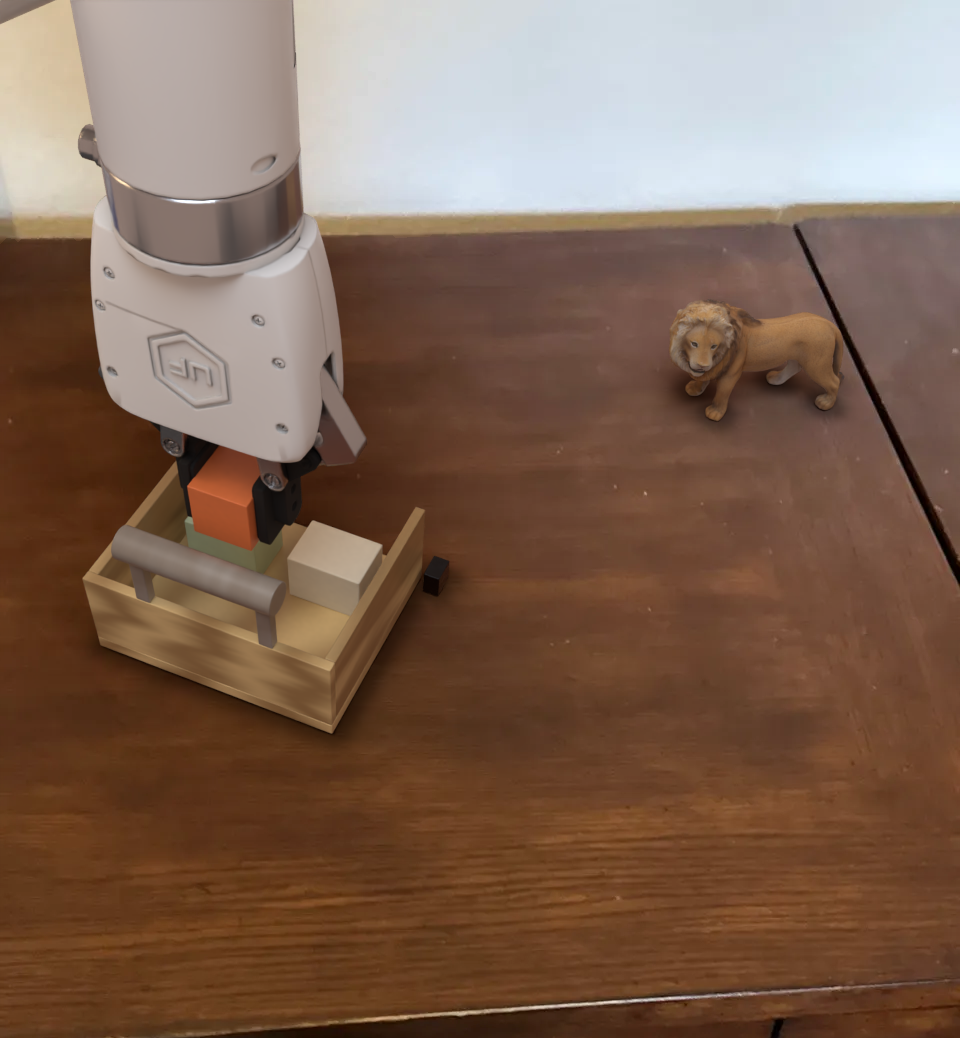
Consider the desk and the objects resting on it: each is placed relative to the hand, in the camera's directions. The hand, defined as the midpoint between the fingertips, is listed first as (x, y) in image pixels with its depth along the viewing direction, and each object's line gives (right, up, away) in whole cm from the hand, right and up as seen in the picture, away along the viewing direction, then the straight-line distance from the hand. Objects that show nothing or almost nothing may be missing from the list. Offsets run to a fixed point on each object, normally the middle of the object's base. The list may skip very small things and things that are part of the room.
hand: (243, 509), depth 63 cm
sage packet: (-2, -1, +10) cm, 11 cm away
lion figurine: (+30, +10, +23) cm, 39 cm away
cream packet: (+4, -4, +9) cm, 11 cm away
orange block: (0, 0, 0) cm, 0 cm away
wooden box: (0, -5, +9) cm, 10 cm away
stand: (+2, -1, +13) cm, 13 cm away
